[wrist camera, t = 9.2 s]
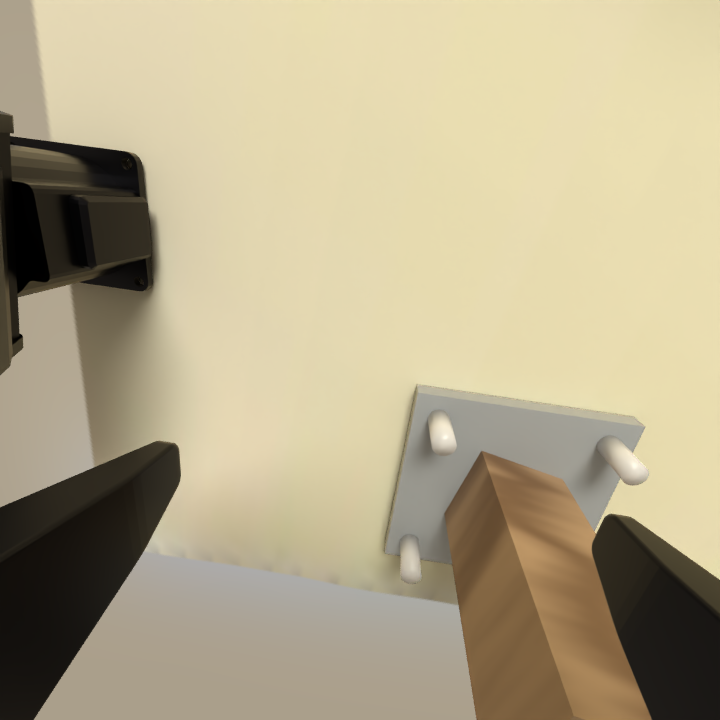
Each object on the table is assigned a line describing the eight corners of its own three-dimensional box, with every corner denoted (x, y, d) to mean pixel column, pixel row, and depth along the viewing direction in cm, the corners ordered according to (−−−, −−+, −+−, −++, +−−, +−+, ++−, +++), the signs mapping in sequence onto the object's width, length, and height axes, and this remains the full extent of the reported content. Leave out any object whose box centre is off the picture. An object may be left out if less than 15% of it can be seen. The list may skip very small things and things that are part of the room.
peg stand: (385, 540, 26) (383, 589, 23) (416, 384, 21) (420, 416, 18) (562, 570, 26) (586, 623, 22) (634, 417, 21) (678, 455, 18)
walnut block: (444, 513, 23) (488, 793, 12) (481, 450, 21) (573, 715, 10) (519, 538, 24) (628, 836, 12) (562, 479, 22) (737, 768, 11)
